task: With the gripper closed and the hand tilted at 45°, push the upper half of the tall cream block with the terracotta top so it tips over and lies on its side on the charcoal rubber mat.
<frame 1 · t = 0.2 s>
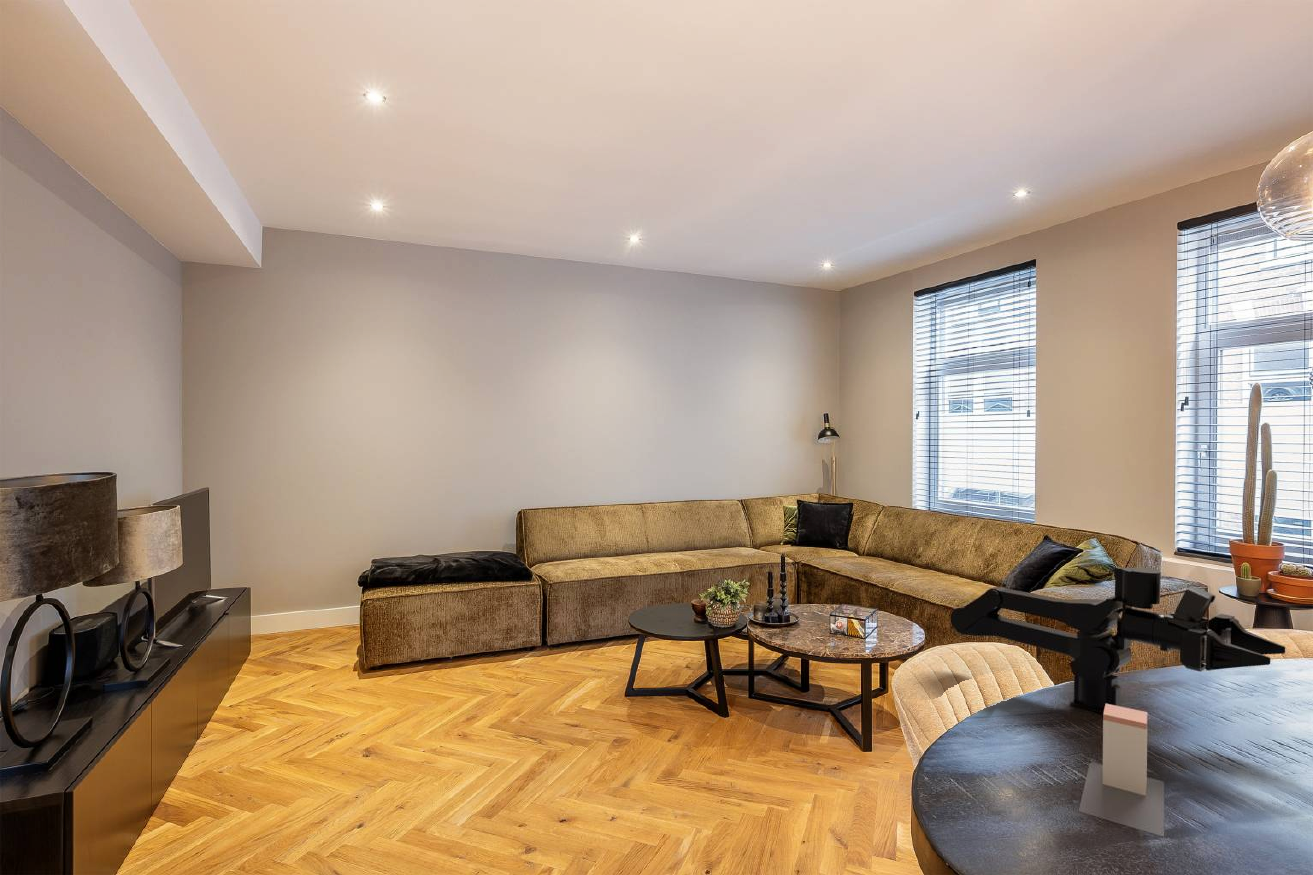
hand: (1277, 655, 104), 16 cm above the table, tool horizontal, fingers open, 9 cm apart
cream block: (1124, 782, 95), resting on charcoal mat
charcoal mat: (1123, 799, 91), on the table
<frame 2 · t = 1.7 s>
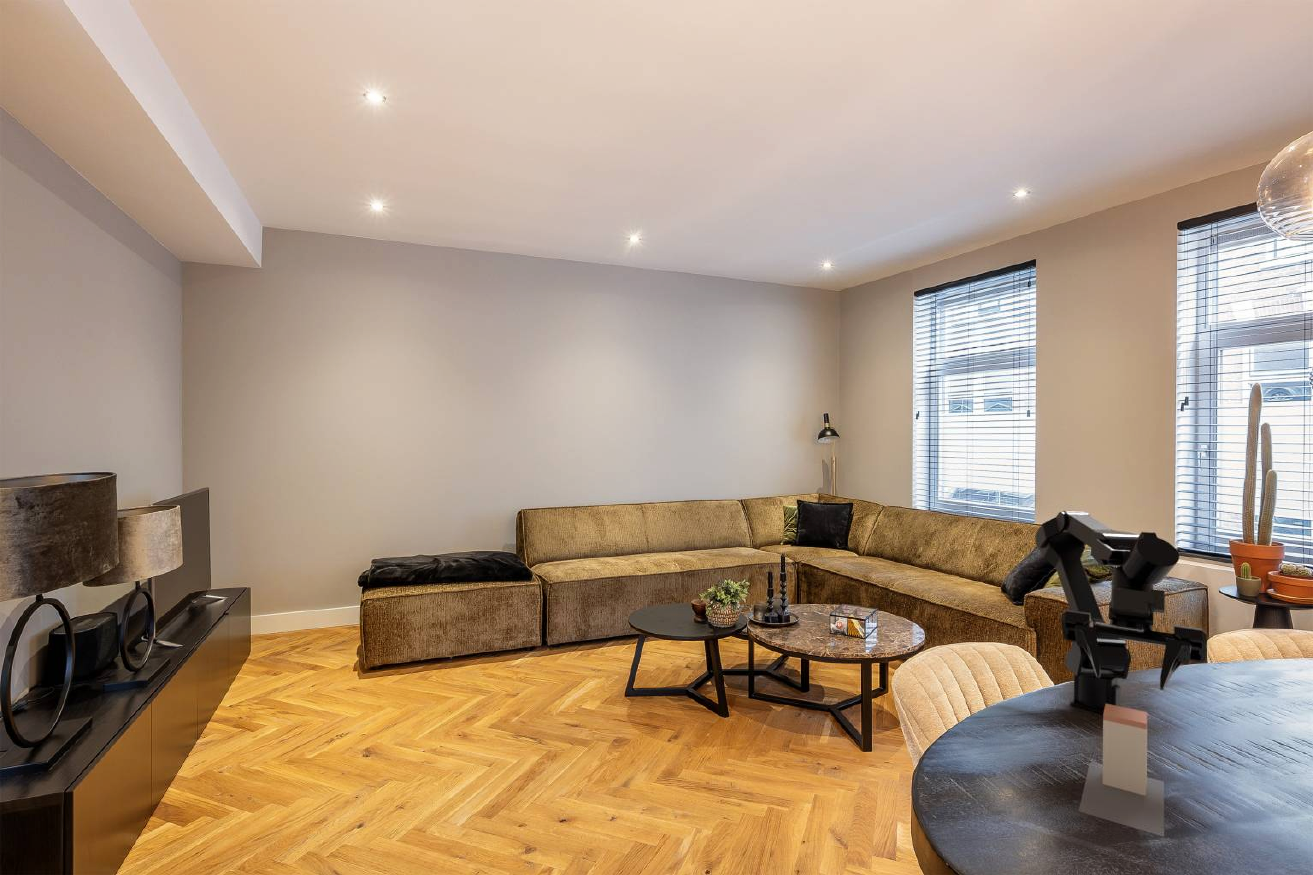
hand: (1129, 682, 101), 13 cm above the table, tool tilted 45°, fingers open, 8 cm apart
nothing on the table moved.
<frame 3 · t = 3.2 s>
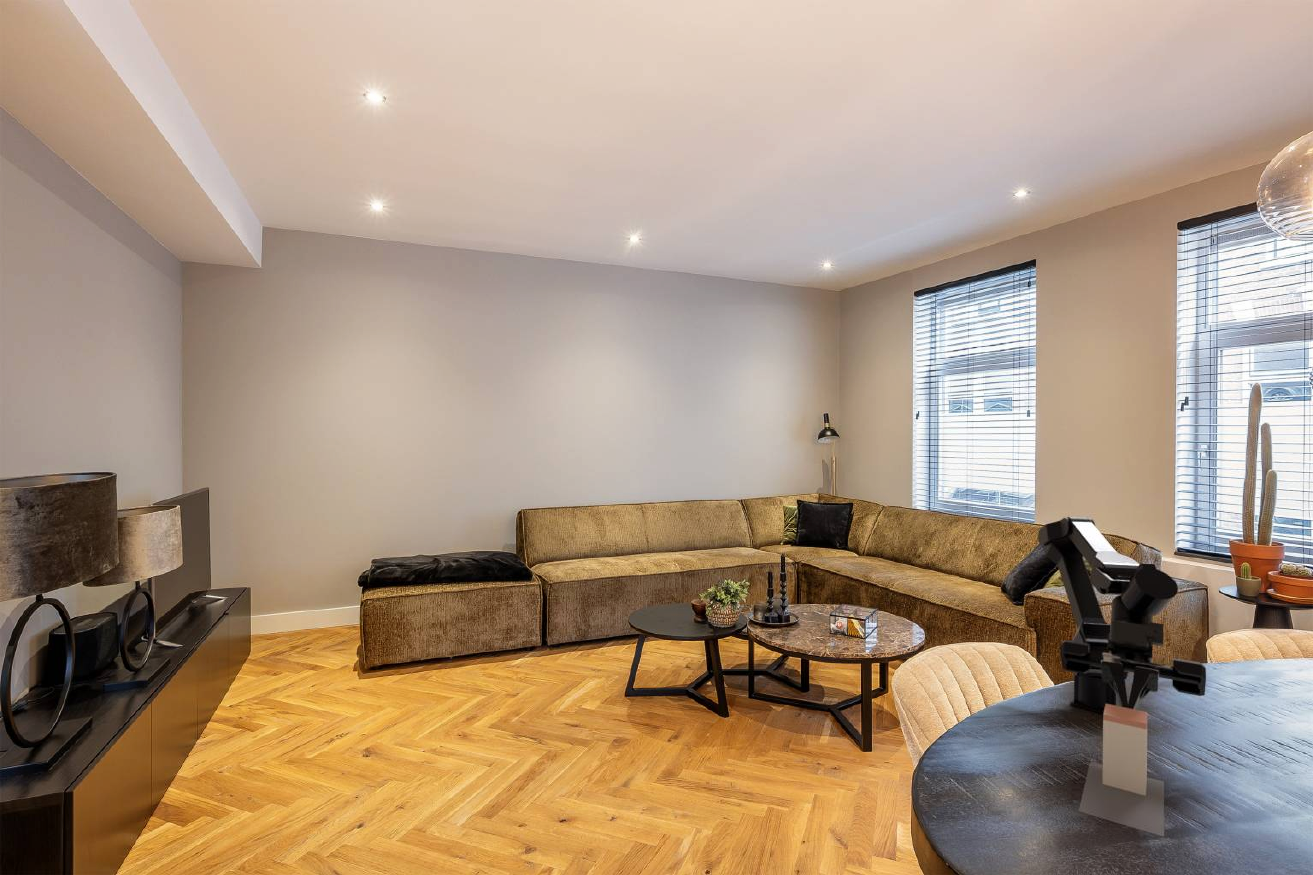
hand: (1127, 715, 101), 8 cm above the table, tool tilted 45°, fingers closed
nothing on the table moved.
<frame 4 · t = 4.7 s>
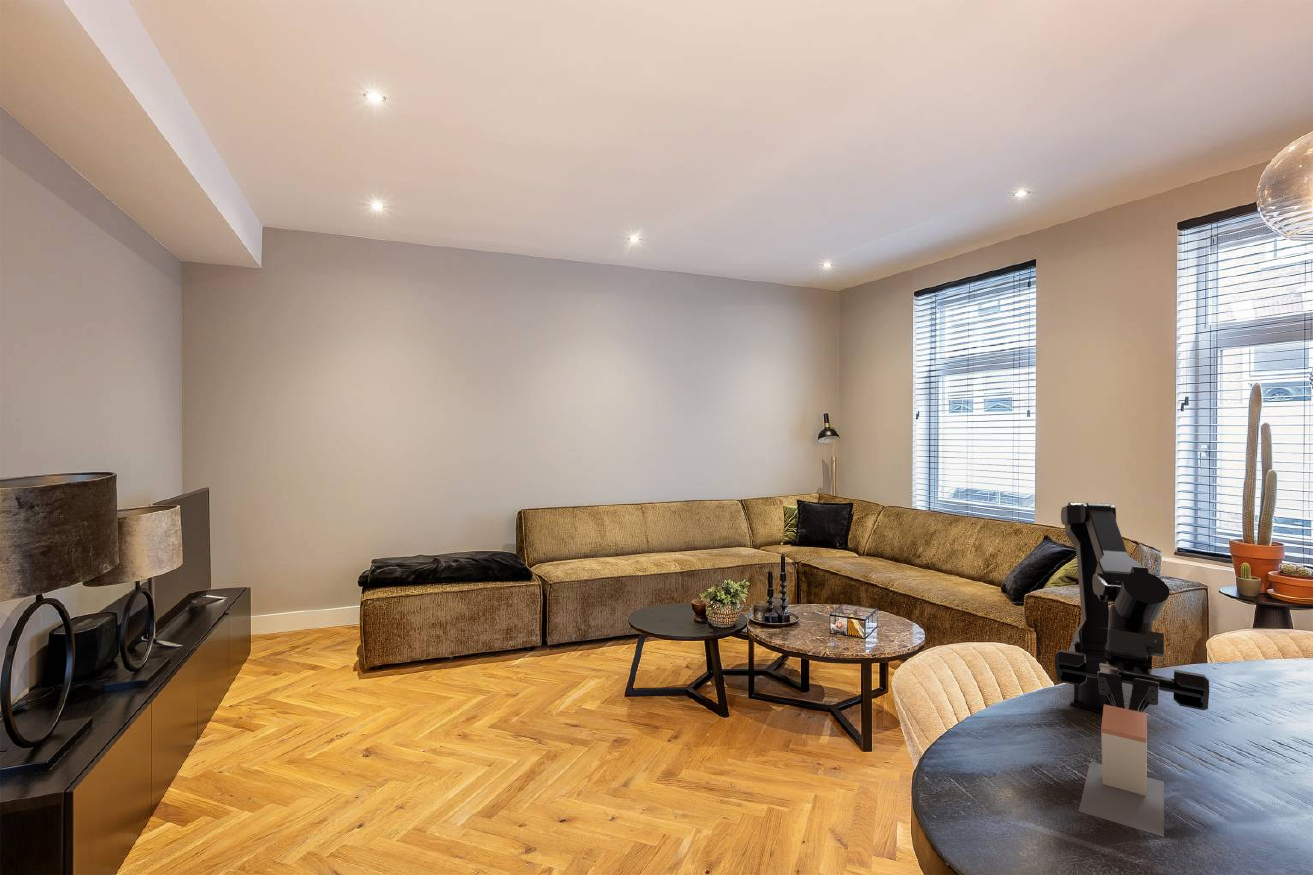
hand: (1126, 731, 95), 8 cm above the table, tool tilted 45°, fingers closed
cream block: (1124, 776, 95), point 1 cm above the table, tilted 22°, touching charcoal mat
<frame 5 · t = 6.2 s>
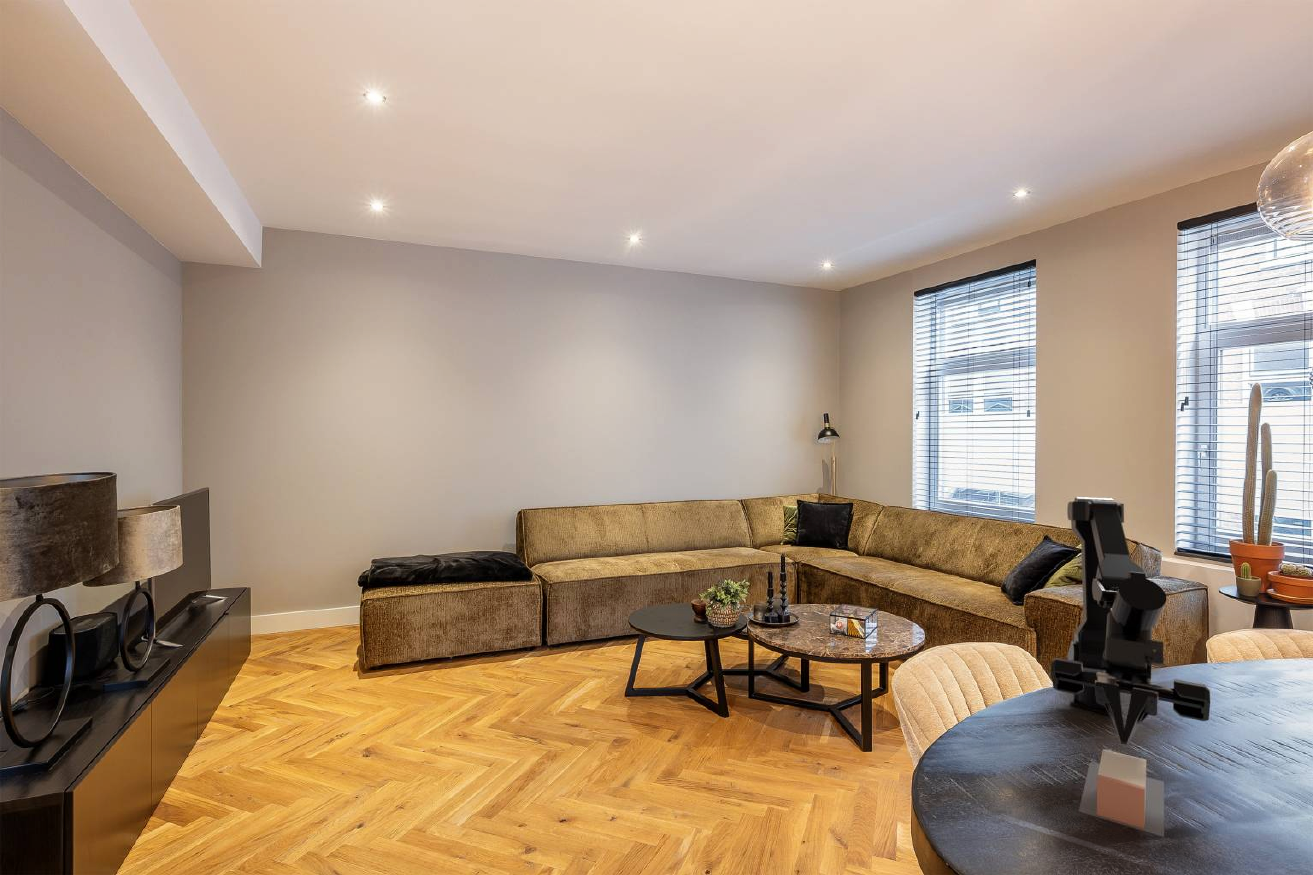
hand: (1123, 743, 92), 8 cm above the table, tool tilted 45°, fingers closed
cream block: (1124, 771, 93), point 3 cm above the table, tilted 90°, touching charcoal mat
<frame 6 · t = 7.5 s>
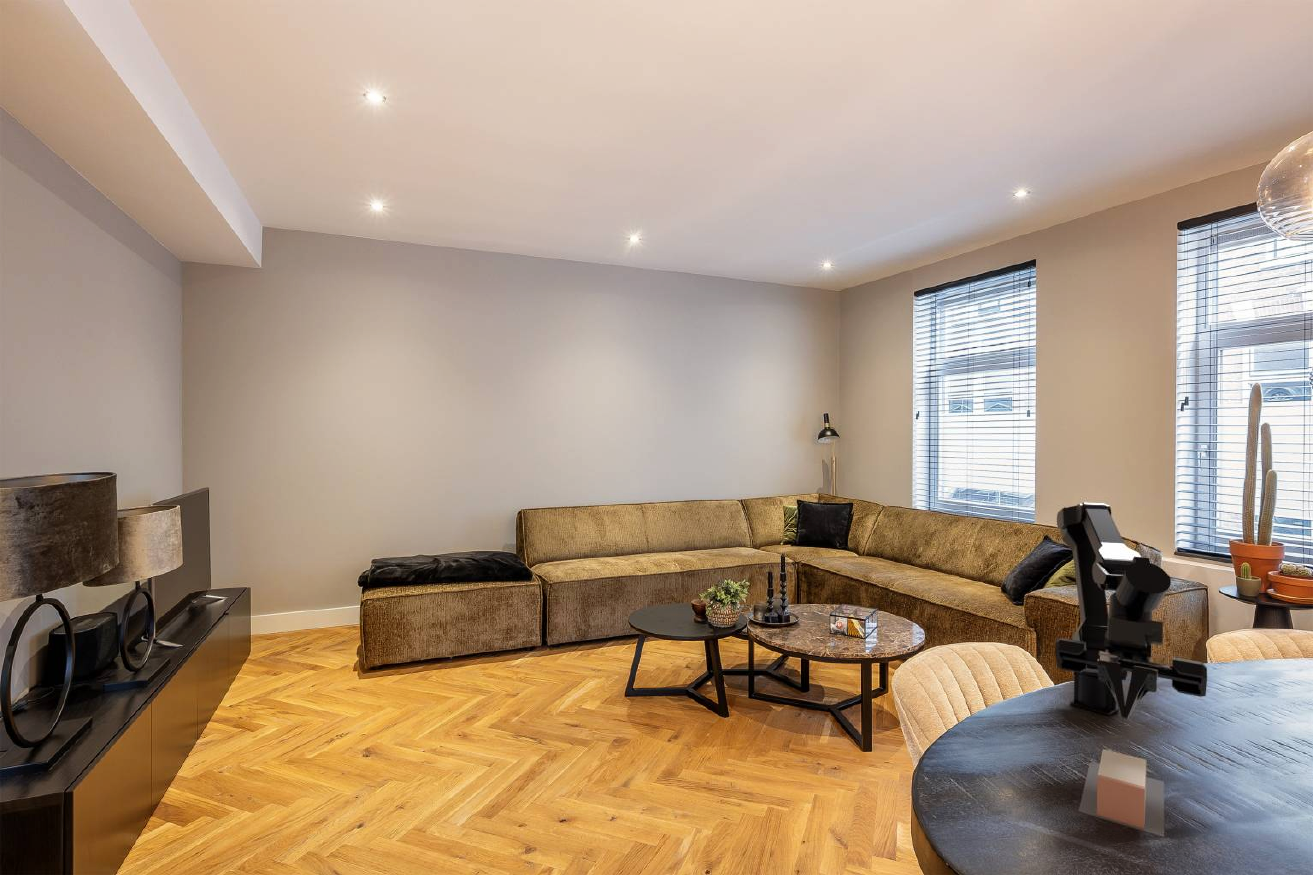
hand: (1124, 717, 97), 9 cm above the table, tool tilted 45°, fingers closed
nothing on the table moved.
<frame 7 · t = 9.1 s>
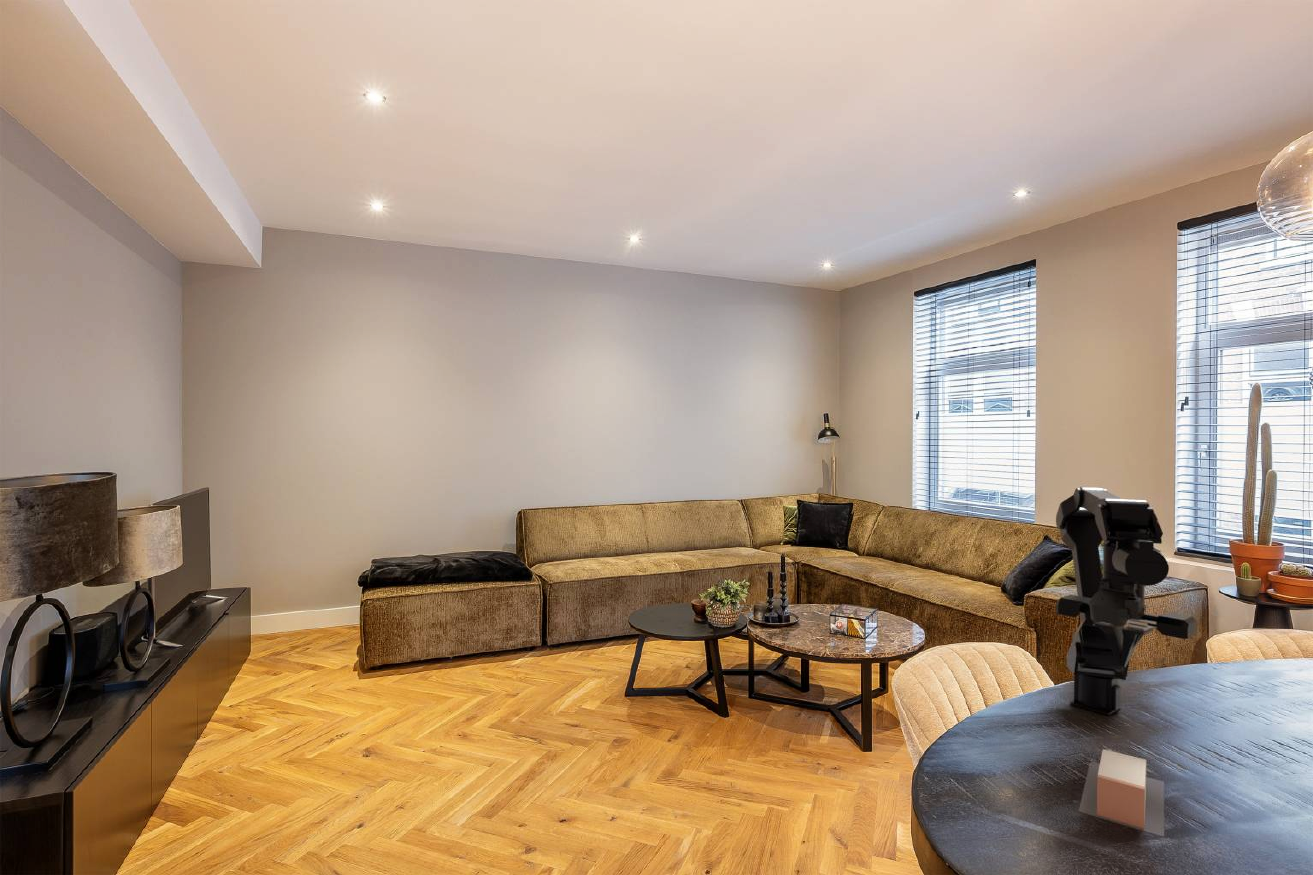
hand: (1122, 666, 111), 12 cm above the table, tool pointing down, fingers closed
nothing on the table moved.
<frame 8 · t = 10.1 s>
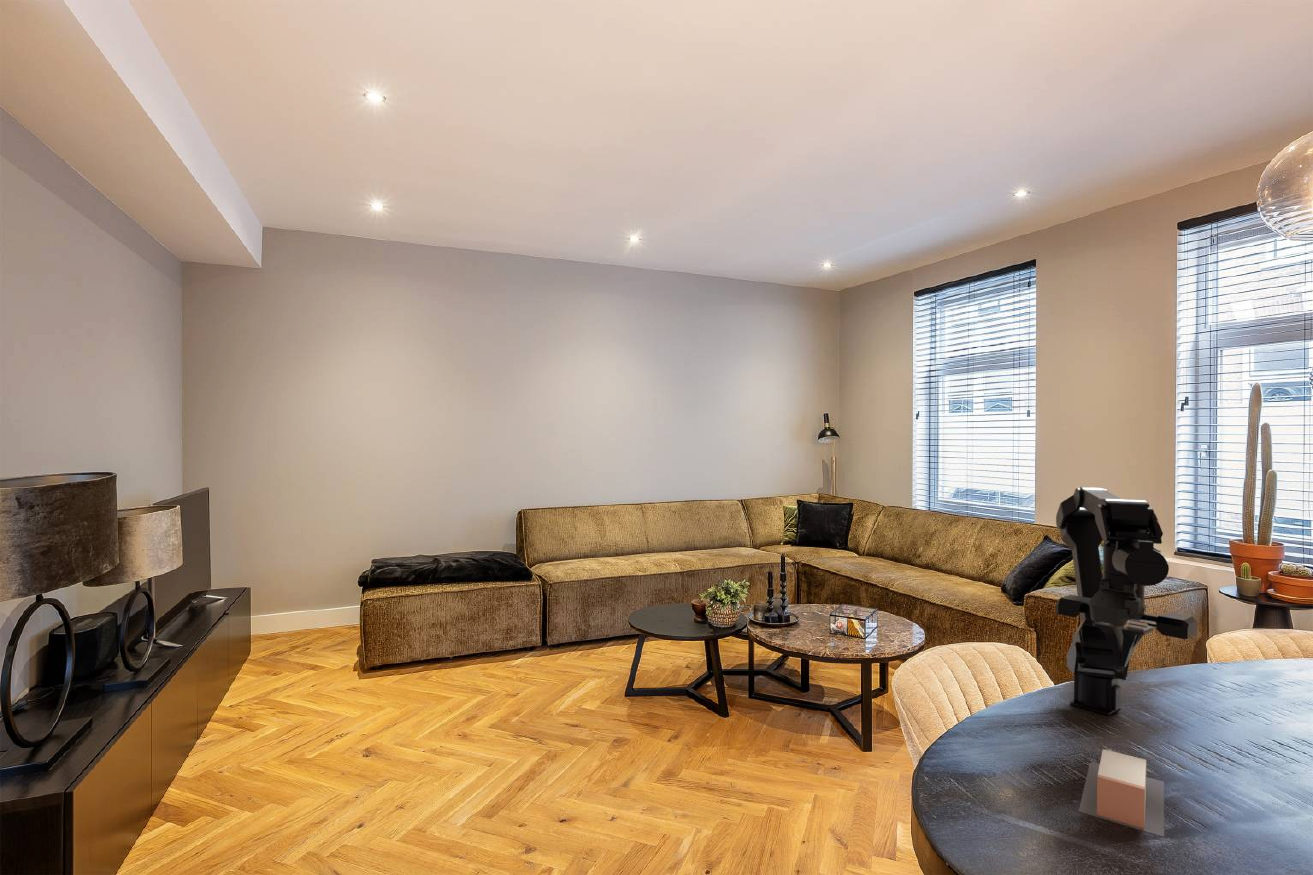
hand: (1122, 666, 111), 12 cm above the table, tool pointing down, fingers closed
nothing on the table moved.
at the end: cream block tilted 90°; cream block touching charcoal mat; cream block inside the target area (0.3 cm from its centre), point 3.0 cm above the table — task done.
